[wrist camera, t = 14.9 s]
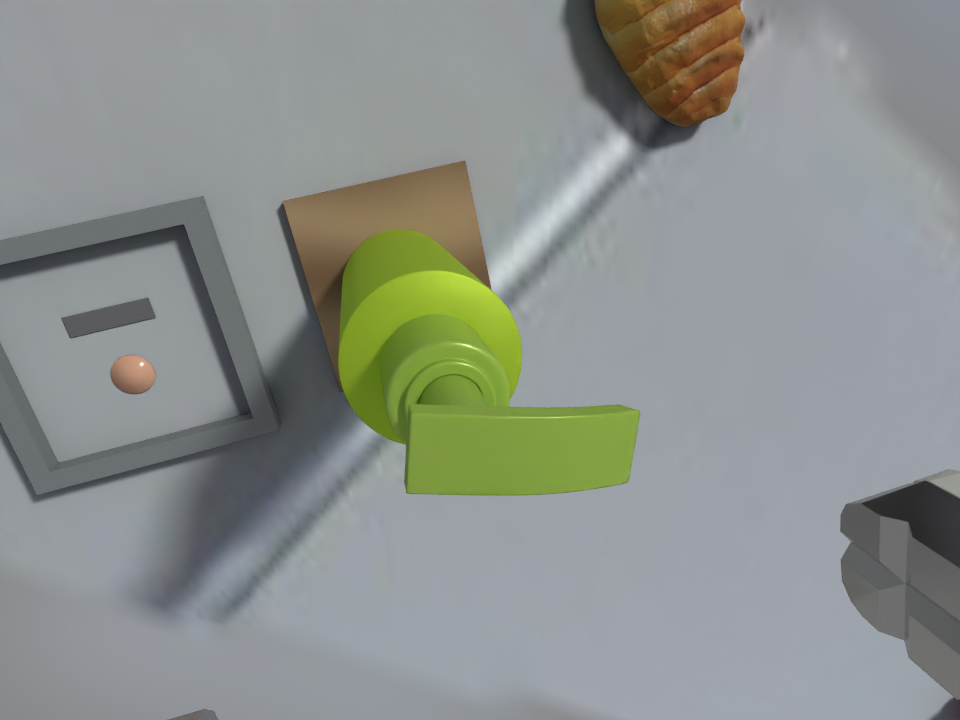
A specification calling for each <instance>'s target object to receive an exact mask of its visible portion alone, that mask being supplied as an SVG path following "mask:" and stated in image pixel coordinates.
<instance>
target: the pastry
mask: <svg viewBox="0 0 960 720" xmlns="http://www.w3.org/2000/svg"><path fill="white" fill-rule="evenodd" d="M594 1H595V13H596V17H597V20H598V23H599V25H600V28H601V31H602V34H603V38H604V39H605V41H606V42H607V44H608V45H609V47H610V48H611V50H612V52H613V55H614V56H615V58H616V59H617V61H618V62H619V64H620V66H621V68H622V69H623V71H624V72H625V73H626V75H627V76H628V78H629V79H630V81H631V82H632V83H633V85H634V86H635V87H636V89H637V90H638V92H639V93H640V95H641V96H642V97H643V99H644V100H645V101H646V103H647V104H648V105H649V107H650V108H651V109H652V110H653V111H654V112H655V113H656V114H658V115H659V116H661V117H662V118H664V119H665V120H666V121H668V122H670V123H672V124H675V125H678V126H681V127H688V126H691V125H694V124H698V123H701V122H703V121H705V120H707V119H709V118H712V117H715V116H718V115H720V114H722V113H724V112H725V111H726V110H727V109H728V107H729V105H730V102H731V98H732V96H733V94H734V93H735V92H736V89H737V82H738V75H739V68H740V64H741V62H742V61H743V57H744V49H743V47H742V44H741V39H740V38H741V34H742V31H743V28H744V25H745V17H744V15H743V13H742V11H741V7H740V3H741V0H594Z"/></svg>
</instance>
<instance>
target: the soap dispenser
mask: <svg viewBox="0 0 960 720" xmlns="http://www.w3.org/2000/svg"><path fill="white" fill-rule="evenodd" d="M521 365H522V345H521V339H520V334H519V331H518V328H517V325H516V322H515V320H514V318H513V316H512V314H511V313H510V311H509V309H508V308H507V306H506V305H505V304H504V303H503V301H502V300H501V299H500V298H499V297H498V296H497V295H496V294H495V293H494V292H493V291H492V290H491V289H490V288H488V287H487V286H486V285H485V284H484V283H483V282H482V281H480V280H479V279H478V278H477V277H476V276H475V275H474V274H473V273H471V272H470V271H469V270H468V269H467V268H466V267H465V266H464V265H462V264H461V263H460V262H459V261H458V260H457V259H456V258H454V257H453V256H452V255H451V254H450V253H449V252H448V251H447V250H445V249H444V248H443V247H442V246H441V245H440V244H439V243H437V242H436V241H435V240H433V239H432V238H430V237H429V236H427V235H425V234H422V233H420V232H417V231H413V230H407V229H393V230H387V231H383V232H380V233H378V234H375V235H373V236H372V237H370V238H368V239H367V240H365V241H364V242H363V243H362V244H361V245H359V246H358V248H357V249H356V250H355V251H354V252H353V254H352V255H351V257H350V258H349V260H348V262H347V265H346V267H345V270H344V274H343V281H342V298H341V316H340V334H339V352H338V369H339V376H340V381H341V385H342V388H343V391H344V394H345V396H346V398H347V400H348V402H349V404H350V405H351V407H352V408H353V410H354V411H355V413H356V414H357V415H358V416H359V417H360V419H361V420H362V421H363V422H364V423H365V424H367V425H368V426H369V427H370V428H371V429H373V430H374V431H376V432H377V433H379V434H380V435H382V436H384V437H386V438H388V439H390V440H393V441H395V442H398V443H402V444H406V459H405V478H404V482H405V488H406V493H408V494H438V495H541V494H556V493H568V492H576V491H584V490H591V489H597V488H604V487H609V486H615V485H620V484H624V483H627V482H628V481H629V477H630V472H631V466H632V460H633V454H634V448H635V442H636V436H637V429H638V423H639V417H640V411H639V410H636V409H633V408H629V407H625V406H622V405H603V406H589V407H553V408H548V407H509V404H510V399H511V397H512V395H513V393H514V391H515V388H516V386H517V383H518V380H519V376H520V372H521Z"/></svg>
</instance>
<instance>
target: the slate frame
mask: <svg viewBox="0 0 960 720" xmlns="http://www.w3.org/2000/svg"><path fill="white" fill-rule="evenodd" d="M182 224H184V226H185V228H186V231H187V234H188V237H189V240H190V242H191V245H192V248H193V251H194V254H195V256H196V259H197V262H198V265H199V268H200V270H201V273H202V276H203V279H204V282H205V284H206V287H207V290H208V293H209V296H210V298H211V301H212V304H213V307H214V310H215V312H216V315H217V318H218V321H219V324H220V326H221V329H222V332H223V335H224V338H225V340H226V343H227V346H228V349H229V352H230V354H231V357H232V360H233V363H234V366H235V368H236V371H237V374H238V377H239V380H240V382H241V385H242V388H243V391H244V394H245V396H246V399H247V402H248V405H249V408H250V410H251V413H248V414H244V415H240V416H236V417H232V418H229V419H225V420H221V421H217V422H213V423H210V424H206V425H202V426H198V427H194V428H190V429H187V430H183V431H179V432H175V433H171V434H167V435H164V436H160V437H156V438H152V439H148V440H144V441H141V442H137V443H133V444H129V445H125V446H122V447H118V448H114V449H110V450H106V451H102V452H99V453H95V454H91V455H87V456H83V457H79V458H76V459H72V460H68V461H64V462H60V463H58V462H57V459H56V457H55V455H54V453H53V451H52V449H51V447H50V445H49V443H48V441H47V439H46V437H45V435H44V433H43V430H42V428H41V426H40V424H39V422H38V420H37V418H36V416H35V414H34V412H33V410H32V408H31V406H30V404H29V402H28V399H27V397H26V395H25V393H24V391H23V389H22V387H21V385H20V383H19V381H18V379H17V377H16V375H15V373H14V370H13V368H12V366H11V364H10V362H9V360H8V358H7V356H6V354H5V352H4V350H3V348H2V346H1V344H0V423H1V425H2V427H3V429H4V431H5V433H6V435H7V437H8V439H9V441H10V443H11V445H12V447H13V449H14V451H15V453H16V455H17V456H18V458H19V460H20V462H21V464H22V466H23V468H24V470H25V472H26V474H27V476H28V478H29V480H30V482H31V484H32V486H33V488H34V490H35V492H36V494H37V495H39V494H43V493H47V492H50V491H54V490H58V489H62V488H65V487H69V486H73V485H77V484H80V483H84V482H88V481H92V480H95V479H99V478H103V477H107V476H110V475H114V474H118V473H122V472H125V471H129V470H133V469H137V468H140V467H144V466H148V465H152V464H155V463H159V462H163V461H167V460H171V459H174V458H178V457H182V456H186V455H189V454H193V453H197V452H201V451H204V450H208V449H212V448H216V447H219V446H223V445H227V444H231V443H234V442H238V441H242V440H246V439H249V438H253V437H257V436H261V435H264V434H268V433H272V432H276V431H279V429H280V425H281V422H280V419H279V416H278V413H277V410H276V407H275V405H274V402H273V399H272V396H271V393H270V390H269V387H268V384H267V381H266V378H265V375H264V372H263V369H262V367H261V364H260V361H259V358H258V355H257V352H256V349H255V346H254V343H253V340H252V337H251V334H250V332H249V329H248V326H247V323H246V320H245V317H244V314H243V311H242V308H241V305H240V302H239V299H238V296H237V294H236V291H235V288H234V285H233V282H232V279H231V276H230V273H229V270H228V267H227V264H226V261H225V258H224V256H223V253H222V250H221V247H220V244H219V241H218V238H217V235H216V232H215V229H214V226H213V223H212V221H211V218H210V215H209V212H208V209H207V206H206V203H205V200H204V197H203V196H202V197H197V198H193V199H188V200H184V201H179V202H174V203H170V204H165V205H161V206H156V207H152V208H147V209H142V210H138V211H133V212H129V213H124V214H119V215H115V216H110V217H106V218H101V219H97V220H92V221H87V222H83V223H78V224H74V225H69V226H64V227H60V228H55V229H51V230H46V231H42V232H37V233H32V234H28V235H23V236H19V237H14V238H10V239H5V240H0V265H2V264H7V263H11V262H16V261H20V260H25V259H29V258H34V257H38V256H43V255H47V254H52V253H56V252H61V251H65V250H70V249H74V248H79V247H83V246H88V245H92V244H97V243H101V242H105V241H110V240H114V239H119V238H123V237H128V236H132V235H137V234H141V233H146V232H150V231H155V230H159V229H164V228H168V227H173V226H177V225H182ZM151 318H155V315H154V312H153V309H152V307H151V304H150V302H149V299H148V298H145V299H141V300H137V301H132V302H128V303H124V304H120V305H115V306H111V307H107V308H103V309H98V310H94V311H90V312H86V313H81V314H77V315H73V316H69V317H64V318H62V320H63V322H64V324H65V326H66V329H67V331H68V333H69V336H70V338H72V337H76V336H80V335H84V334H88V333H93V332H97V331H101V330H105V329H109V328H114V327H118V326H122V325H126V324H130V323H135V322H139V321H143V320H147V319H151ZM111 378H112V380H113V382H114V384H115V385H116V386H117V387H118V388H119V389H121V390H122V391H124V392H127V393H132V394H138V393H142V392H145V391H146V390H148V389H149V388H150V387H151V386H152V385H153V383H154V380H155V372H154V369H153V367H152V366H151V364H150V363H149V362H148V361H146V360H145V359H143V358H141V357H138V356H133V355H129V356H124V357H121V358H120V359H118V360H117V361H116V362H115V363H114V364H113V366H112V369H111Z"/></svg>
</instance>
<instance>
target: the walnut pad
mask: <svg viewBox="0 0 960 720" xmlns="http://www.w3.org/2000/svg"><path fill="white" fill-rule="evenodd" d="M283 204H284V207H285V211H286V214H287V217H288V221H289V224H290V227H291V230H292V234H293V237H294V240H295V244H296V247H297V250H298V254H299V257H300V260H301V264H302V267H303V270H304V273H305V277H306V280H307V283H308V287H309V290H310V293H311V297H312V300H313V303H314V307H315V310H316V313H317V317H318V320H319V323H320V326H321V330H322V333H323V336H324V340H325V343H326V346H327V350H328V353H329V356H330V360H331V363H332V366H333V369H334V373H335V376H336V379H337V383H338V386H339V389H340V392H344V391H343V388H342V385H341V381H340V376H339V369H338V352H339V334H340V316H341V298H342V281H343V274H344V270H345V267H346V265H347V262H348V260H349V258H350V257H351V255H352V254H353V252H354V251H355V250H356V249H357V248H358V246H359V245H361V244H362V243H363V242H364V241H365V240H367V239H368V238H370V237H372V236H373V235H375V234H378V233H380V232H383V231H387V230H393V229H407V230H413V231H417V232H420V233H422V234H425V235H427V236H429V237H430V238H432V239H433V240H435V241H436V242H437V243H439V244H440V245H441V246H442V247H443V248H444V249H445V250H447V251H448V252H449V253H450V254H451V255H452V256H453V257H454V258H456V259H457V260H458V261H459V262H460V263H461V264H462V265H464V266H465V267H466V268H467V269H468V270H469V271H470V272H471V273H473V274H474V275H475V276H476V277H477V278H478V279H479V280H480V281H482V282H483V283H484V284H485V285H486V286H487V287H488V288H490V289H491V285H490V280H489V275H488V270H487V265H486V260H485V256H484V251H483V246H482V241H481V236H480V231H479V226H478V221H477V216H476V211H475V206H474V202H473V197H472V192H471V187H470V182H469V177H468V172H467V167H466V162H465V161H462V162H457V163H453V164H448V165H444V166H439V167H435V168H430V169H426V170H421V171H417V172H412V173H408V174H403V175H399V176H394V177H390V178H385V179H381V180H376V181H372V182H367V183H363V184H358V185H354V186H349V187H345V188H340V189H336V190H331V191H327V192H322V193H318V194H313V195H309V196H304V197H300V198H295V199H291V200H286V201H283Z"/></svg>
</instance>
